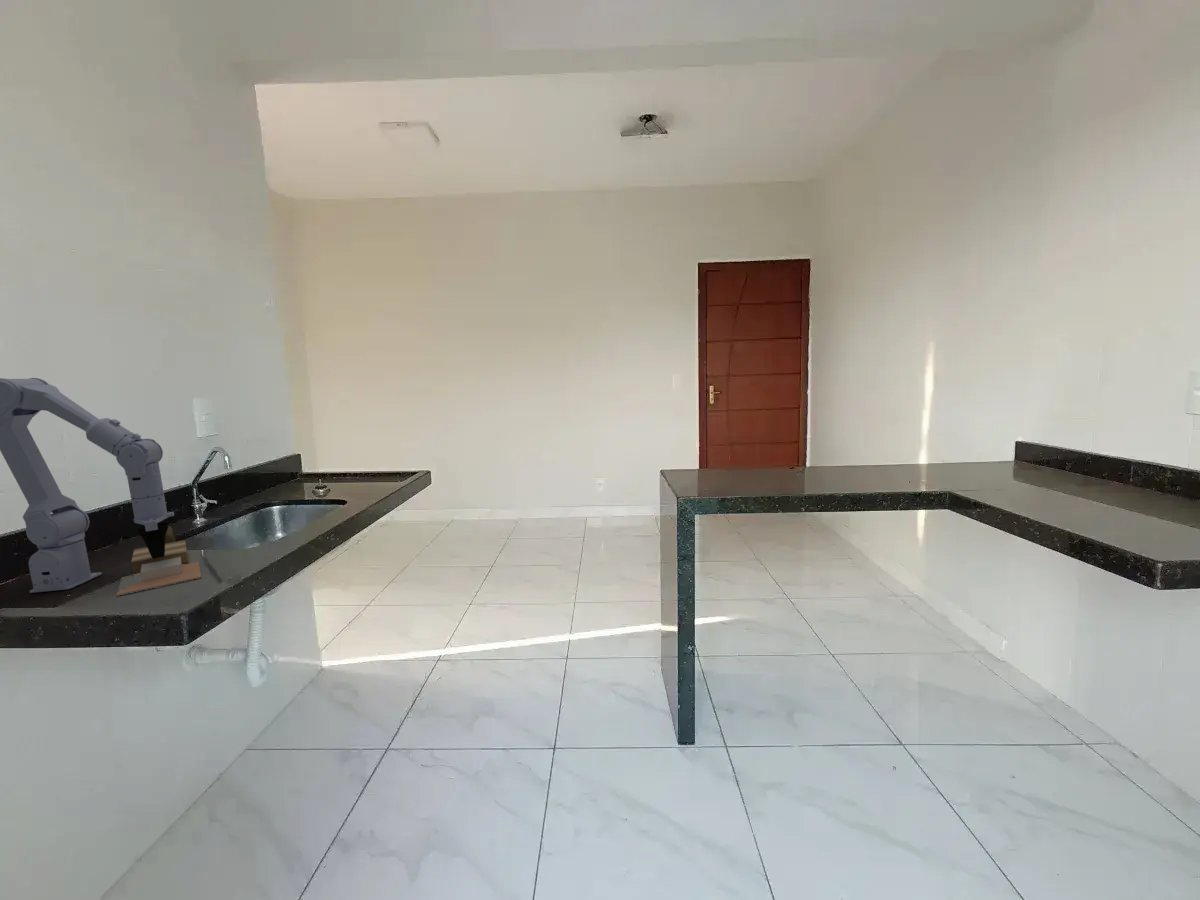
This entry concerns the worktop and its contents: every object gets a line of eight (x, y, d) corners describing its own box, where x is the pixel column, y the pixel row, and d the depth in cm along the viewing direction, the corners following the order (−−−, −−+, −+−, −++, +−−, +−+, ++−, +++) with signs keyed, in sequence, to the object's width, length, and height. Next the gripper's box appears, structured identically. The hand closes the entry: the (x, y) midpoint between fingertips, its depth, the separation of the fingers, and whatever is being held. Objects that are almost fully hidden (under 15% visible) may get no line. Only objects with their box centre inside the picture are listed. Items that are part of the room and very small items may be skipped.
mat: (121, 579, 129) (121, 577, 129) (199, 563, 137) (198, 561, 137) (116, 596, 118) (116, 594, 118) (201, 578, 126) (201, 576, 126)
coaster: (143, 573, 131) (141, 564, 131) (182, 565, 135) (180, 556, 135) (142, 581, 125) (140, 572, 125) (182, 572, 129) (181, 563, 129)
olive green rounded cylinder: (141, 527, 154) (144, 536, 146) (168, 518, 158) (173, 527, 149) (149, 548, 156) (152, 558, 147) (176, 539, 159) (181, 549, 151)
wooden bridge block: (136, 561, 142) (134, 549, 142) (187, 551, 148) (185, 540, 148) (133, 575, 131) (131, 562, 131) (188, 564, 137) (186, 551, 136)
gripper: (170, 497, 126) (181, 559, 127) (170, 488, 137) (180, 546, 139) (127, 503, 122) (139, 568, 123) (131, 494, 133) (142, 553, 135)
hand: (158, 557), depth 131 cm, fingers closed
